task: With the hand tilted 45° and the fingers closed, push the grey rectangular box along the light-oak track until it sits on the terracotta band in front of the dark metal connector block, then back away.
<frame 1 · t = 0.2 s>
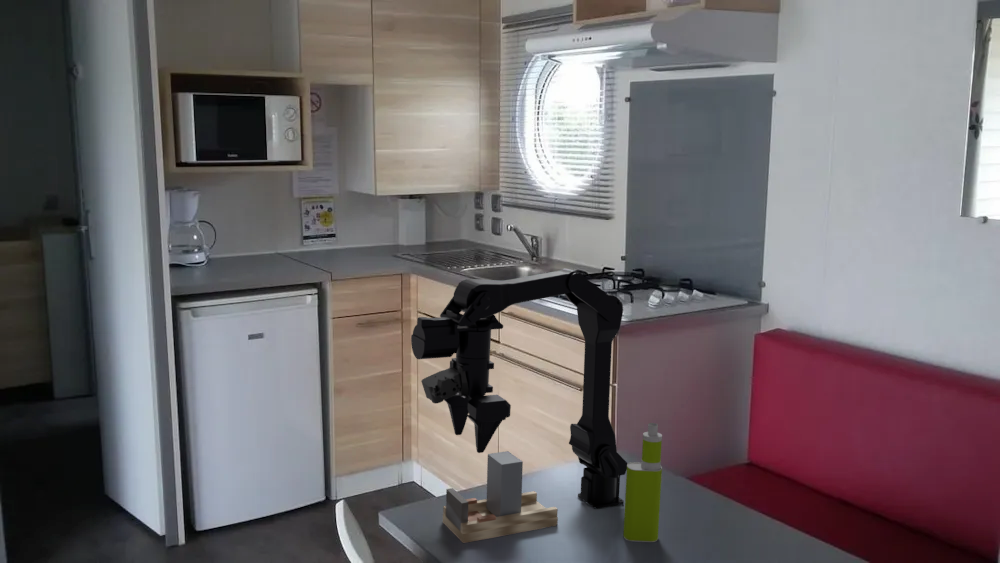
hand: (468, 443, 151), 15 cm above the table, tool pointing down, fingers open, 9 cm apart
sleeve track: (500, 523, 154), on the table
vape: (641, 538, 150), on the table
grey rectangular box: (504, 485, 153), point 7 cm above the table, slide at 0.0 cm
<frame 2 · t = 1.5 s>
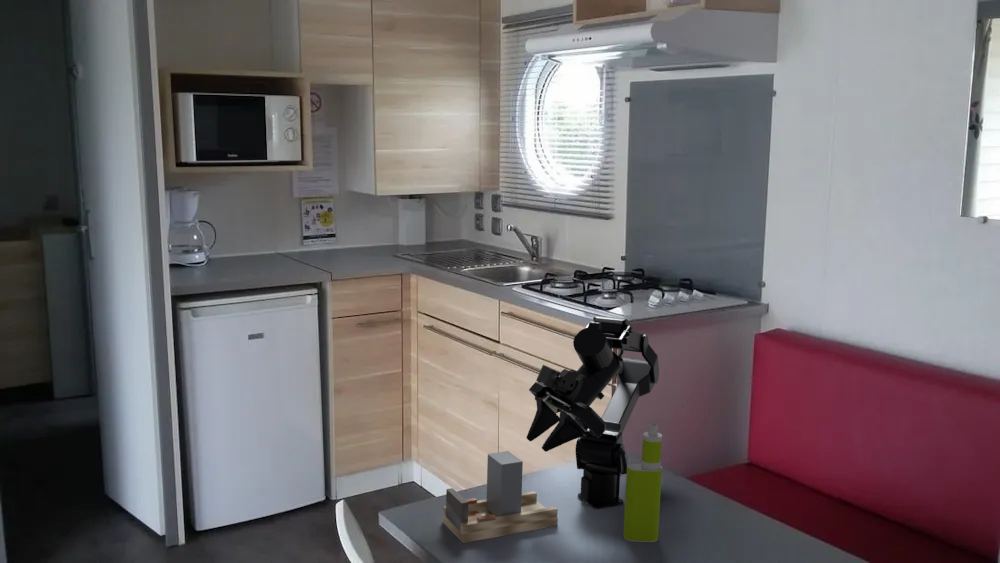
hand: (535, 444, 155), 14 cm above the table, tool tilted 45°, fingers open, 5 cm apart
nothing on the table moved.
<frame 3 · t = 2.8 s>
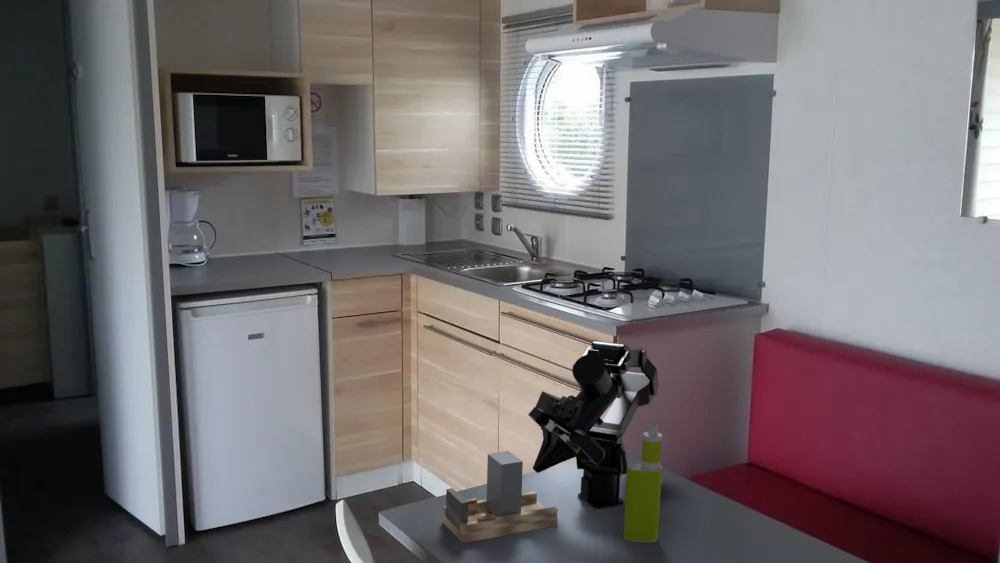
hand: (535, 470, 156), 9 cm above the table, tool tilted 45°, fingers closed
nothing on the table moved.
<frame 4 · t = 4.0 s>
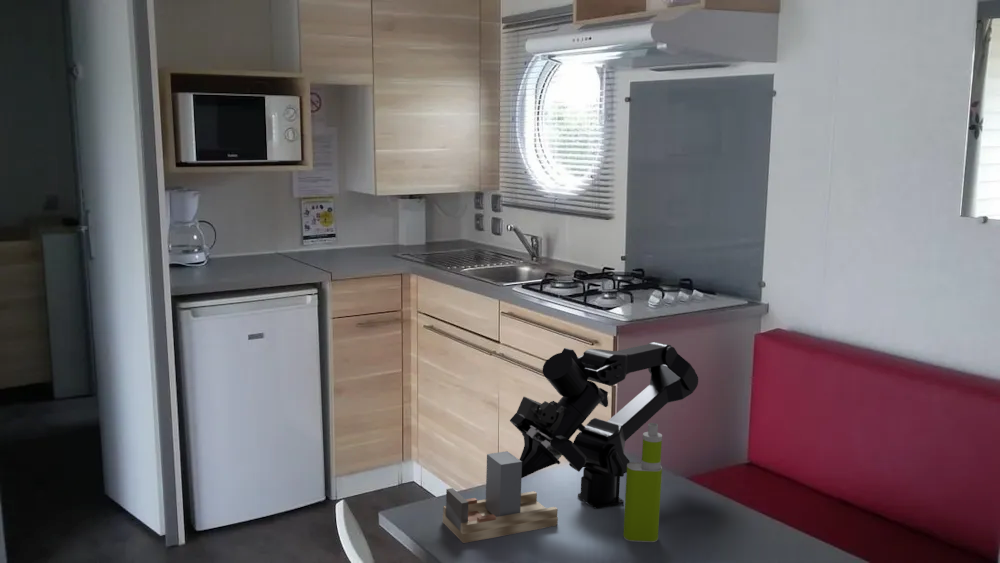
hand: (515, 477, 154), 8 cm above the table, tool tilted 45°, fingers closed, pressing on grey rectangular box
grey rectangular box: (503, 485, 153), point 7 cm above the table, slide at 0.2 cm, touching gripper
everything else where it was.
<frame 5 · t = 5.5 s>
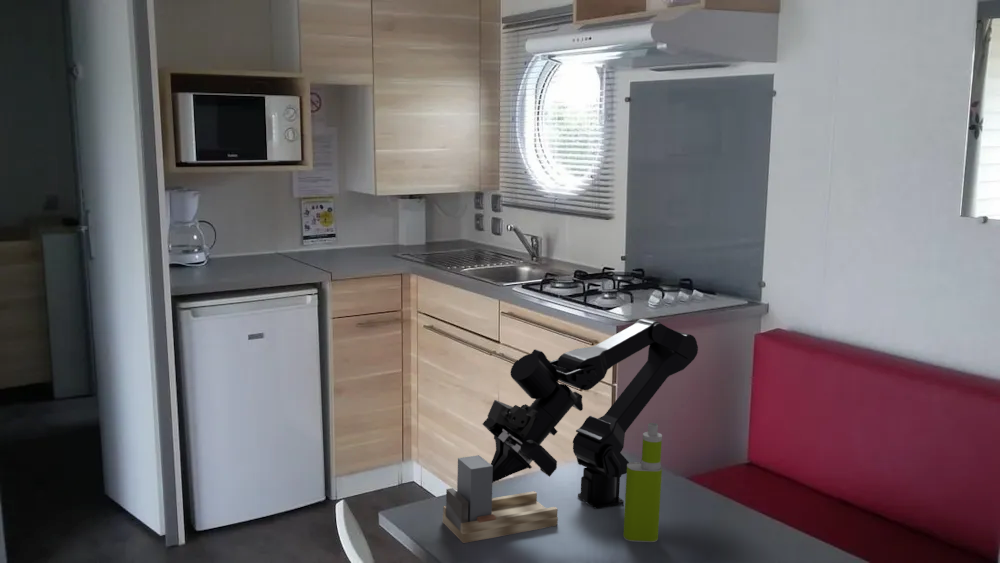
hand: (486, 481, 152), 8 cm above the table, tool tilted 45°, fingers closed, pressing on grey rectangular box
grey rectangular box: (474, 489, 151), point 7 cm above the table, slide at 5.7 cm, touching gripper
everything else where it was.
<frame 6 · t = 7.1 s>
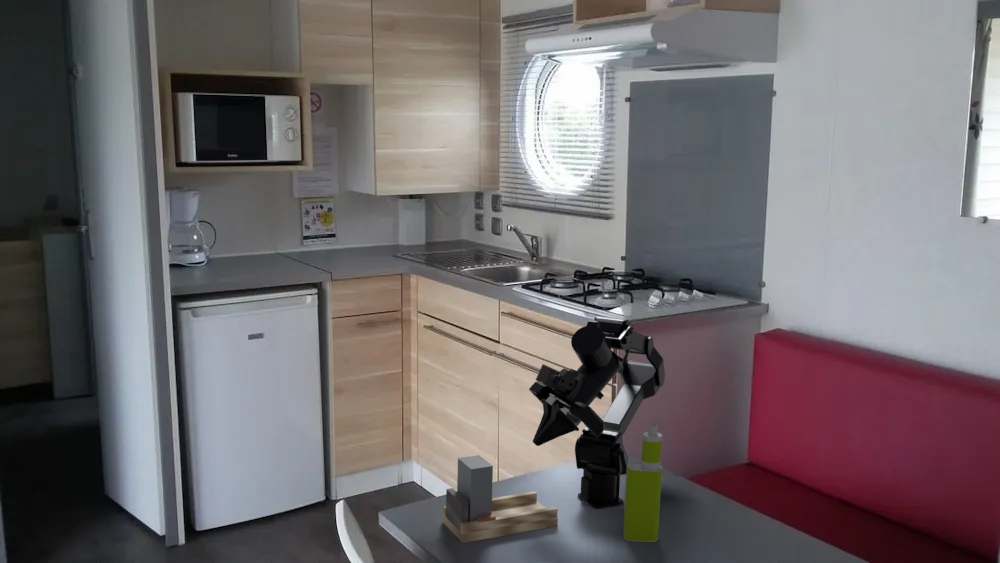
hand: (535, 444, 155), 14 cm above the table, tool tilted 45°, fingers closed
grey rectangular box: (474, 489, 151), point 7 cm above the table, slide at 5.7 cm
everything else where it was.
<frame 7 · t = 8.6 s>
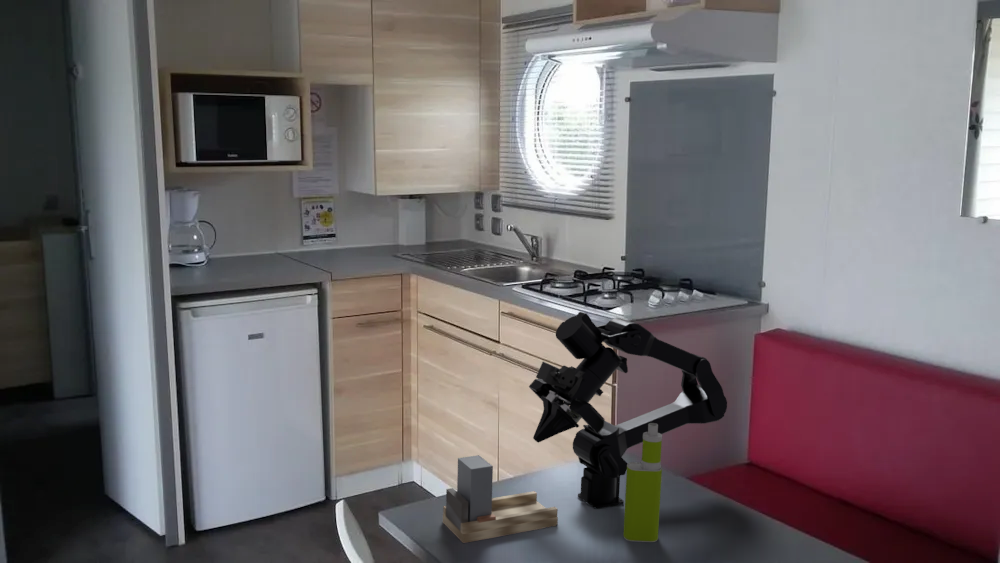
hand: (535, 440, 157), 14 cm above the table, tool tilted 45°, fingers closed
nothing on the table moved.
at the end: grey rectangular box slide at 5.7 cm; vape moved 0.2 cm from its start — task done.
